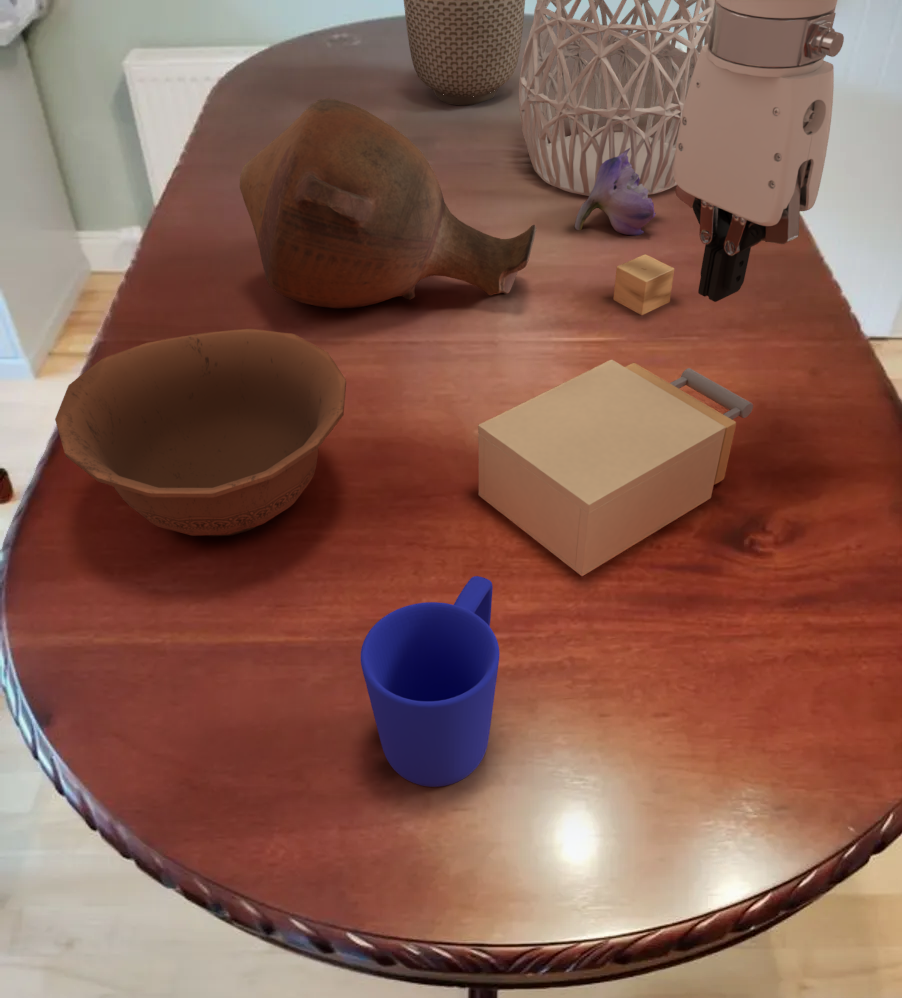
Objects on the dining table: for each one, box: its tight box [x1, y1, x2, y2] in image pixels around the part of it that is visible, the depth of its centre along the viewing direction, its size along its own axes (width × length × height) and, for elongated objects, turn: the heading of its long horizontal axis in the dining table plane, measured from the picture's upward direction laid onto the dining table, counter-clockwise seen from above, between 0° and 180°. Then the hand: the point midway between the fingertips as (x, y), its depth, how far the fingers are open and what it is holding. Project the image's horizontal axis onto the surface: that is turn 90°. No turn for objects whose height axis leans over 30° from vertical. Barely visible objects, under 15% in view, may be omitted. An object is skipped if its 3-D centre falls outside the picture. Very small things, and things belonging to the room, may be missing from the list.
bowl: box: [54, 328, 347, 537], centre depth 80 cm, size 22×22×11 cm
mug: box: [360, 575, 500, 788], centre depth 64 cm, size 8×12×10 cm
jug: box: [239, 98, 537, 309], centre depth 101 cm, size 20×20×30 cm
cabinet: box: [477, 359, 726, 577], centre depth 81 cm, size 15×13×8 cm
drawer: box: [624, 362, 754, 485], centre depth 83 cm, size 19×11×6 cm, turn 128°
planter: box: [403, 0, 526, 106], centre depth 143 cm, size 17×17×16 cm
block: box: [612, 253, 675, 316], centre depth 104 cm, size 4×4×4 cm
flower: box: [573, 148, 657, 236], centre depth 115 cm, size 9×9×10 cm
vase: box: [518, 0, 715, 197], centre depth 119 cm, size 24×24×30 cm
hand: (719, 292), depth 78 cm, fingers closed
